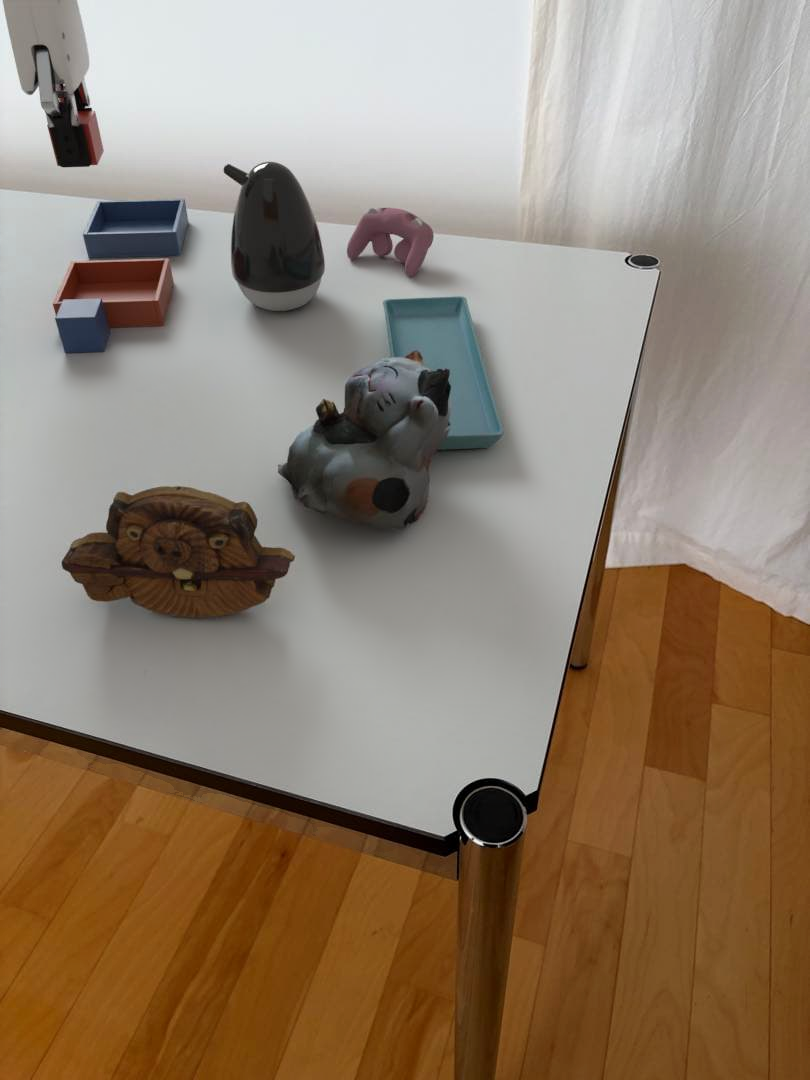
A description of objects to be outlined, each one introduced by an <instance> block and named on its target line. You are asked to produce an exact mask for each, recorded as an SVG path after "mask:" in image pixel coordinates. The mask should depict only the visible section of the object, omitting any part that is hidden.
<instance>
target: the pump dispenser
mask: <svg viewBox="0 0 810 1080" xmlns="http://www.w3.org/2000/svg"><path fill="white" fill-rule="evenodd" d="M223 173H224V174H225V175H226V176H227V177H229V178H230V179H232V180H233V181H234V182H235V183H237V184H238V185H240V186H241V187H240V190H239V193H238V197H237V200H236V203H235V207H234V214H233V219H232V226H231V234H230V235H231V236H230V265H231V266H230V268H231V274H232V277H233V279H234V280H235V282H237V286H238V287H239V289H240V291H241V293H242V294H243V295H244V297H245V298H246V300H247V301H249V302H250V303H251V304H253V305H254V306H256V307H259V308H261V309H264V310H267V311H272V312H286V311H291V310H295V309H298V308H301V307H302V306H304V305H305V304H307V303H308V302H310V301H311V300H312V299H313V298H314V296H315V295H316V293H317V292H318V290H319V288H320V285H321V282H322V278H323V276H324V274H325V271H326V261H325V254H324V248H323V244H322V243H323V242H322V239H321V234H320V230H319V226H318V224H317V220H316V217H315V214H314V212H313V208H312V206H311V204H310V201H309V199H308V197H307V194H306V192H305V191H304V189H303V186H302V185H301V184H300V181H299V179H298V178H297V177H296V175H295V174H294V173H293V172H292V171H291V169H290V168H288V167H287V166H286V165H284V164H282V163H279V162H276V161H263V162H260V163H258V164H257V165H254V166H253V167H252V168H251V169H250V170H249V172H246V171H245V170H242V169H240V168H238V167H236V166H234V165H232V164H230V163H226V164H224V167H223Z"/></svg>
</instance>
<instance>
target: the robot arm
mask: <svg viewBox="0 0 810 1080" xmlns="http://www.w3.org/2000/svg"><path fill="white" fill-rule="evenodd" d="M2 6H3V10H4V11H3V12H4V17H5V21H6V26H7V31H8V36H9V40H10V45H11V49H12V54H13V58H14V62H15V63H14V64H15V68H16V71H17V75H18V80H19V84H20V87H21V90H22V91H23V92H24V93H25V95H27V96H32V95H34V93H35V92H36V91H37V89H38V91H39V100H40V101H39V103H40V105H41V106H40V107H41V108H42V110H43V111H44V113H45V116H46V121H47V125H49V128H50V132H51V136H52V140H53V144H54V148H55V152H56V156H57V160H58V164H59V166H58V167H60V168H89V167H91V166H92V165H91V163H92V160H91V156H90V152H89V147H88V143H87V138H86V134H85V130H84V125H83V124H79V118H78V113H77V111H93V108H92V107H91V99H90V96H89V92H88V88H87V84H86V80H85V77H86V75H87V72H88V71H89V68H90V55H89V49H88V43H87V39H86V33H85V29H84V24H83V20H82V16H81V10H80V7H79V2H78V0H2Z"/></svg>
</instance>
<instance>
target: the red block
mask: <svg viewBox="0 0 810 1080" xmlns="http://www.w3.org/2000/svg"><path fill="white" fill-rule="evenodd" d="M77 113H78V118H79V124H83V125H84V130H85V134H86V138H87V143H88V147H89V152H90V156H91V160H92V163H91V165H90V166H97V165H99V162H100V160H101V158H102V156H103V153H104V152H105V150H104V145H103V140H102V137H101V131H100V127H99V122H98V117H97V114H96V113H97V112H96V111H95V110H92V111H77ZM47 130H48V134H49V138H50V143H51V146H52V151H53V154H54V157H55V162H56V165H57V167H60V166H59V164H58V160H57V156H56V152H55V148H54V144H53V140H52V136H51V132H50V128H49V125H48V124H47Z"/></svg>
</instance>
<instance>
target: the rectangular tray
mask: <svg viewBox="0 0 810 1080" xmlns="http://www.w3.org/2000/svg"><path fill="white" fill-rule="evenodd" d="M382 305H383V311H384V317H385V325H386V330H387V339H388V345H389V346H388V347H389V352H390V358H393V357H403V358H404V357H406V356H407V355H409V354H410V353H411V352H413V351H415V350H417V351H419V352H420V353H421V356H422V358H423V365H424V366H425V367H427V368H429V369H430V370H432V371H436V370H437V369H449V370H450V375H449V379H448V381H449V383H450V385H451V391H450V395H449V402H450V405H451V413H450V417H449V422H450V424H451V427H450V430H449V433H448V435H447V437H446V439H445V440H444V441H443V442H442V444H441V445H440V446H439V448H438V449H437V450H436V451H441V450H443V451H444V450H464V449H465V450H466V449H488V448H490V447H493V445H495V443H497V442H498V441H499V440H500V439H501V438H502V436H503V435H504V434H505V430H504V426H503V424H502V420H501V417H500V414H499V410H498V407H497V403H496V400H495V396H494V393H493V389H492V387H491V382H490V379H489V376H488V372H487V369H486V365H485V361H484V358H483V353H482V351H481V350H482V349H481V347H480V344H479V339H478V336H477V332H476V330H475V325H474V321H473V318H472V314H471V311H470V308H469V304H468V300H467V298H466V297H465V296H462V295H461V296H460V295H459V296H458V295H457V296H432V297H411V298H410V297H409V298H389V299H387V298H386V299H385V300H383V301H382Z"/></svg>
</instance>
